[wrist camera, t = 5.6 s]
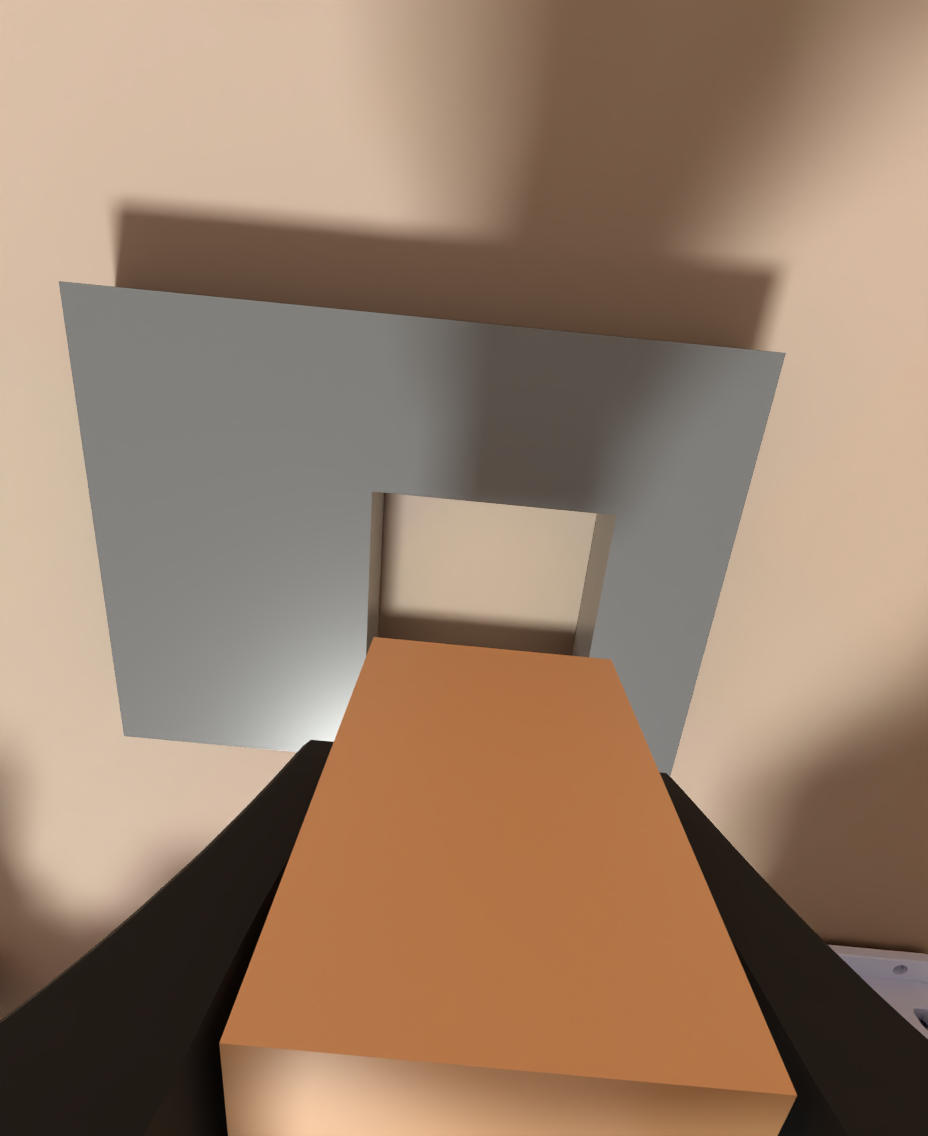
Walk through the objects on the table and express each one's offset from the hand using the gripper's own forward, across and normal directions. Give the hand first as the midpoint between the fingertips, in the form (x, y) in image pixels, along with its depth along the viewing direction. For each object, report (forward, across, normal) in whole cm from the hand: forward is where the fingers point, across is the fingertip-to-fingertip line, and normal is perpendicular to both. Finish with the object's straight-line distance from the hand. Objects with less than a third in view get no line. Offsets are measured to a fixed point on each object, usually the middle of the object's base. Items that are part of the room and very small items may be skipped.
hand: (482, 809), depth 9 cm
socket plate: (+9, +2, -1) cm, 9 cm away
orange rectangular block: (+2, 0, 0) cm, 2 cm away
